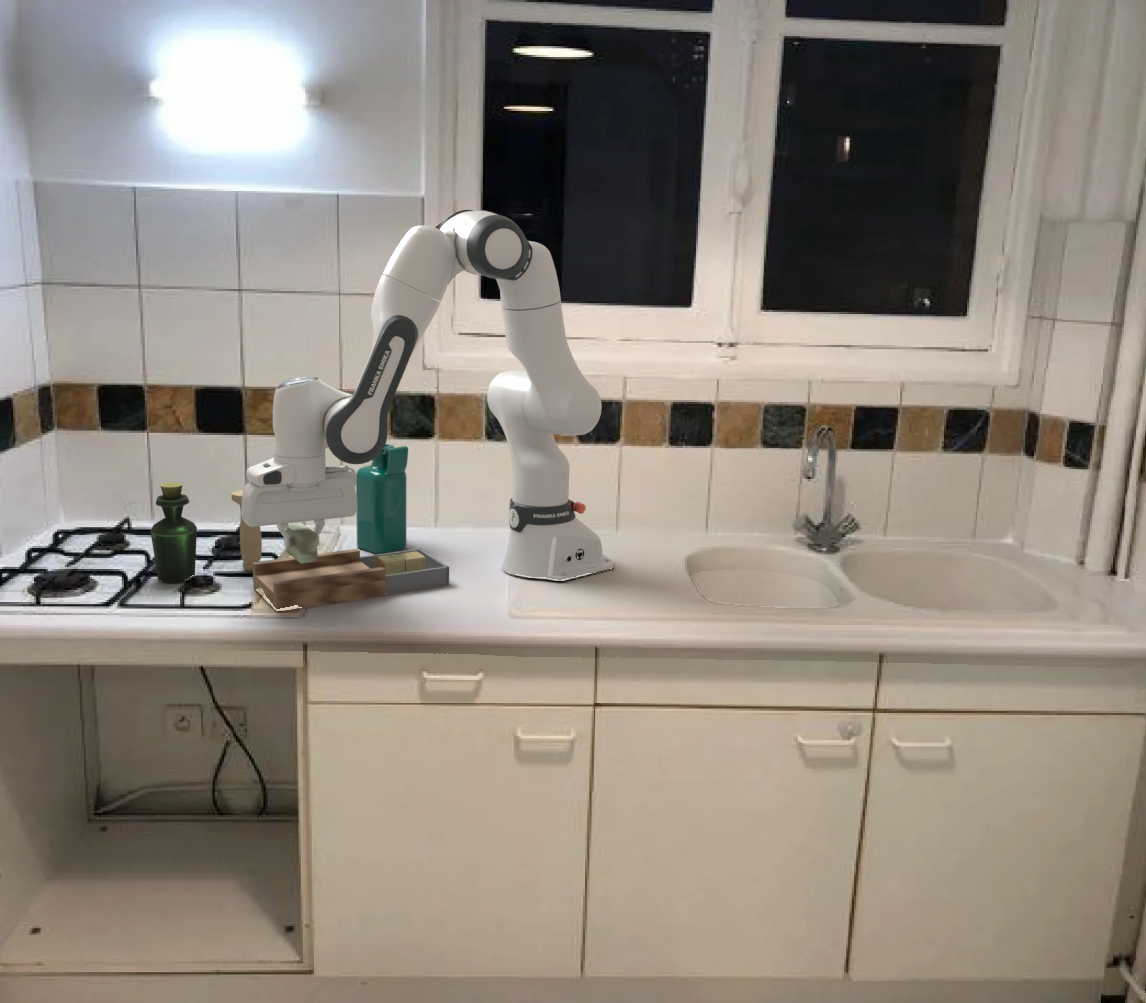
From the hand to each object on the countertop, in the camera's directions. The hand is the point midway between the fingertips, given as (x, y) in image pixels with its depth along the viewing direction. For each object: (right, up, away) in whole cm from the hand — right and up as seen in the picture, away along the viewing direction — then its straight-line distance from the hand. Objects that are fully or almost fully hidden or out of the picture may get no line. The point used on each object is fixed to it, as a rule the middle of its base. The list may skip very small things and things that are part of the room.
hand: (301, 544), depth 195 cm
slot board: (+2, -9, +4) cm, 10 cm away
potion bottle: (-25, -7, +8) cm, 28 cm away
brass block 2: (+16, -5, +12) cm, 20 cm away
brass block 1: (+14, -7, +11) cm, 19 cm away
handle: (-13, -5, +16) cm, 21 cm away
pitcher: (+9, -2, +32) cm, 33 cm away
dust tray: (+16, -7, +13) cm, 22 cm away
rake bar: (0, -2, 0) cm, 2 cm away
